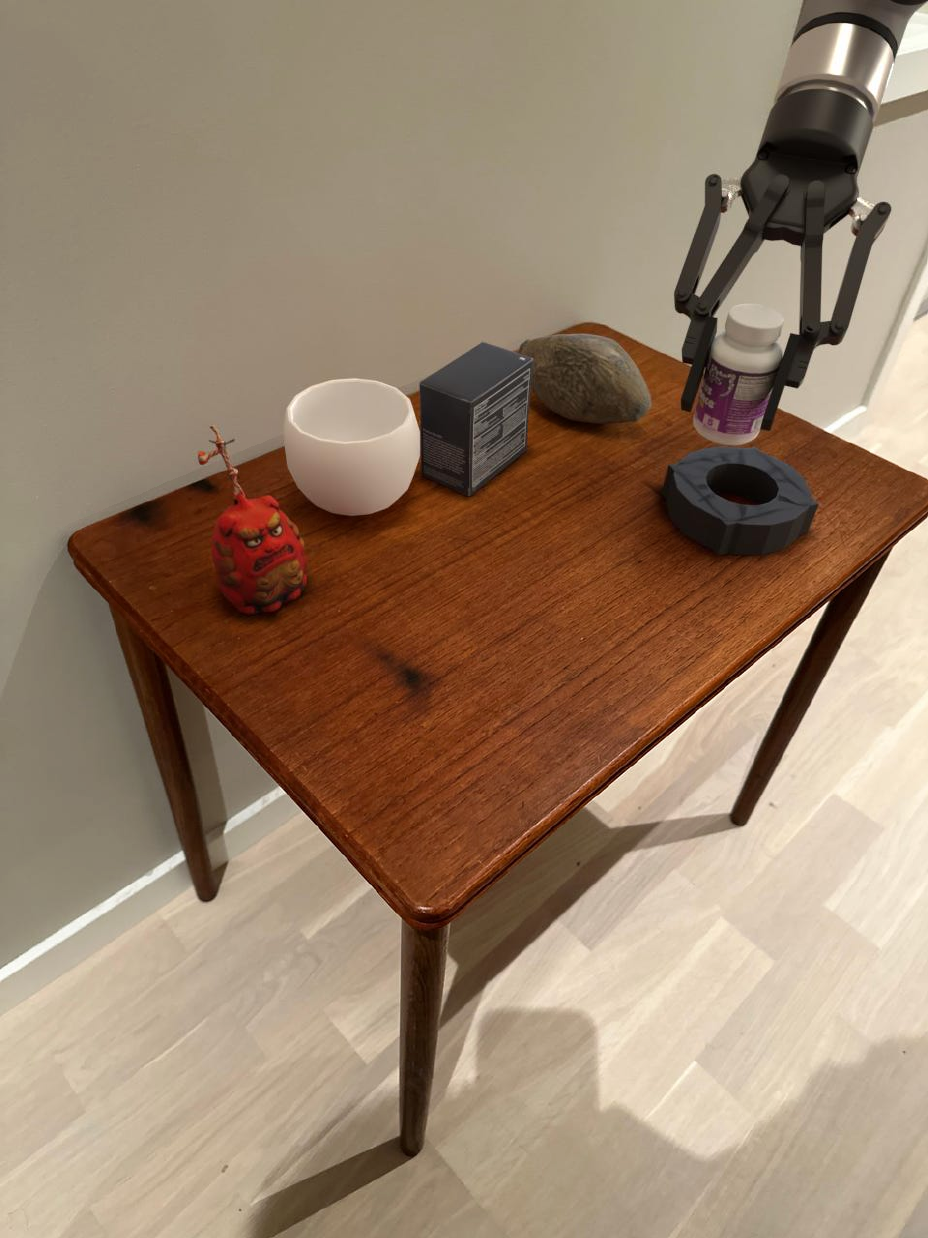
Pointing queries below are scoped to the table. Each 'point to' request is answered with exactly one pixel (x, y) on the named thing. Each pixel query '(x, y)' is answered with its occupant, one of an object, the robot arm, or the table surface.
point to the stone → (587, 378)
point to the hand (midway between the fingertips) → (725, 414)
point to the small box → (474, 417)
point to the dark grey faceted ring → (730, 523)
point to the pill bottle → (739, 375)
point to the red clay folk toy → (255, 548)
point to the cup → (351, 445)
